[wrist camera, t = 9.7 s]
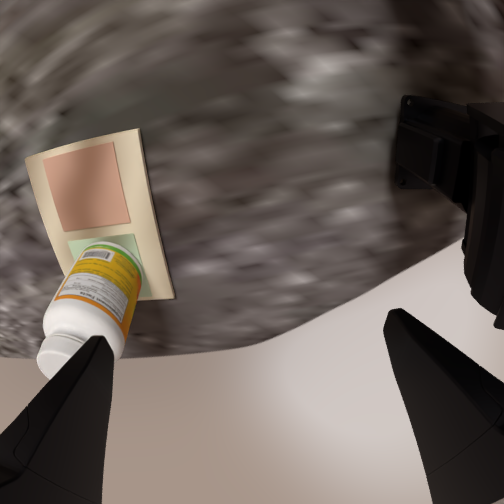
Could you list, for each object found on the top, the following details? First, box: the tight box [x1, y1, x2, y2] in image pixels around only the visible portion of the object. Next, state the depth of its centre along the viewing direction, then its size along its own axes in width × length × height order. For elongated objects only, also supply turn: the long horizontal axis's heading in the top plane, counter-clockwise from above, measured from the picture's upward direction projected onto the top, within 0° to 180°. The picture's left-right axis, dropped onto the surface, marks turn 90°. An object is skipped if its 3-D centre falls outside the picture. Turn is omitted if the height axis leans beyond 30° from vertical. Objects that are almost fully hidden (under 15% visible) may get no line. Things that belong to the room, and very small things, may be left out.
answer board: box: [25, 128, 175, 301], centre depth 20 cm, size 9×13×1 cm
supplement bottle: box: [37, 241, 143, 379], centre depth 17 cm, size 5×5×10 cm
